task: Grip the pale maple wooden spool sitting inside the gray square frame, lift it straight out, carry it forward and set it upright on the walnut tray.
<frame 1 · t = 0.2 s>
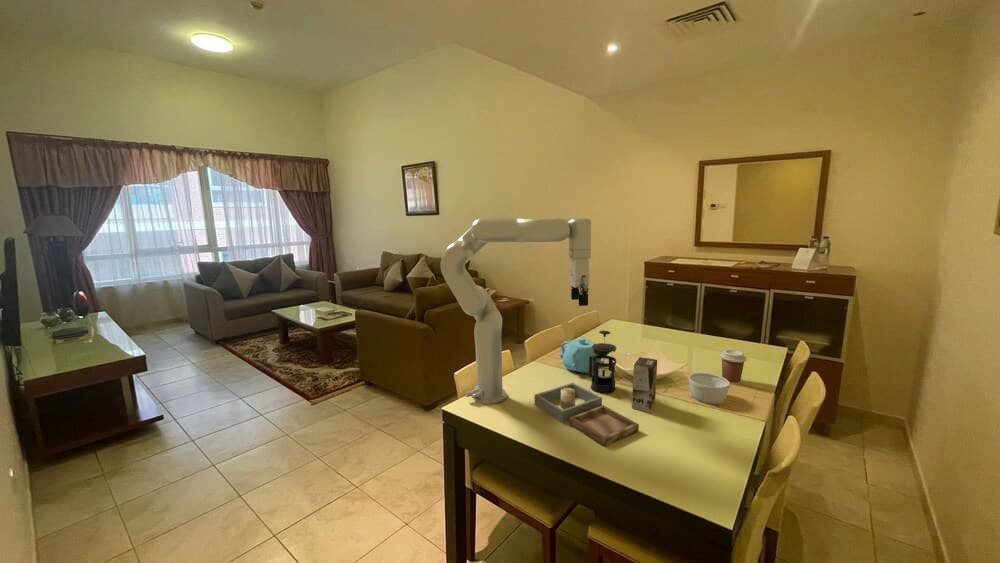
hand: (579, 302, 143), 36 cm above the table, tool pointing down, fingers open, 9 cm apart
gray square frame: (567, 406, 143), on the table
ramekin: (707, 398, 148), on the table
walnut tray: (603, 428, 129), on the table
french press: (602, 388, 157), on the table
maple spool: (567, 398, 142), in the gray square frame
decorative pot: (581, 369, 177), on the table
coffee box: (643, 405, 143), on the table
coffee cup: (731, 381, 161), on the table
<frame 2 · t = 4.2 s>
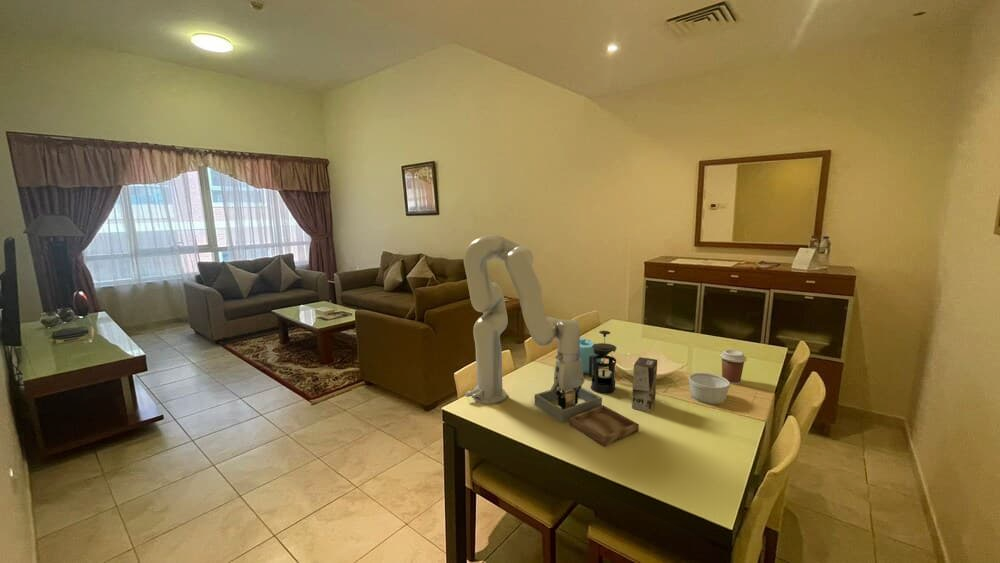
hand: (567, 404, 143), 1 cm above the table, tool pointing down, fingers closed on maple spool, 4 cm apart
maple spool: (567, 398, 142), in the gray square frame, touching gripper
everything else where it was.
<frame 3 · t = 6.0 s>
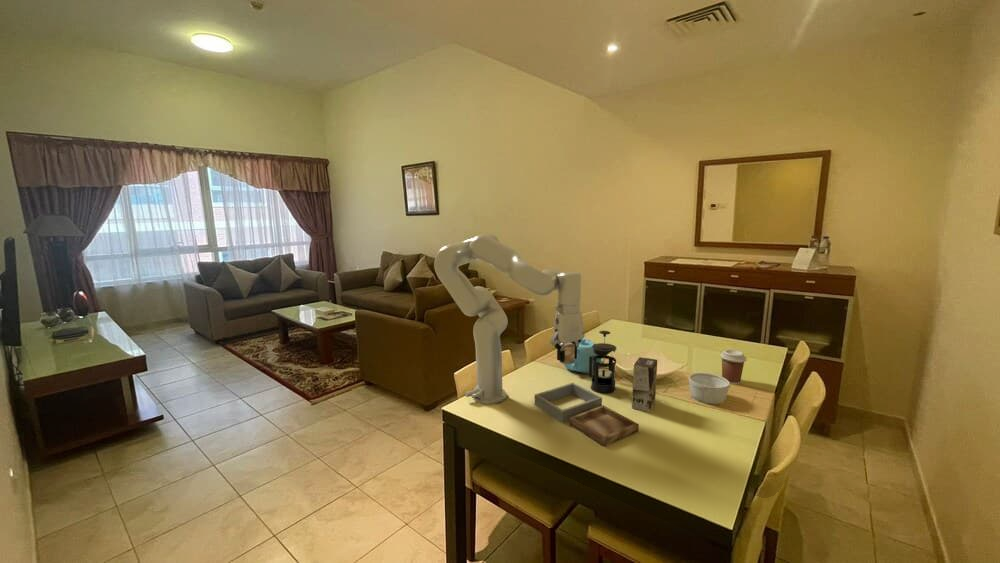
hand: (566, 358, 140), 18 cm above the table, tool pointing down, fingers closed on maple spool, 4 cm apart
maple spool: (567, 353, 140), point 20 cm above the table, touching gripper
everything else where it was.
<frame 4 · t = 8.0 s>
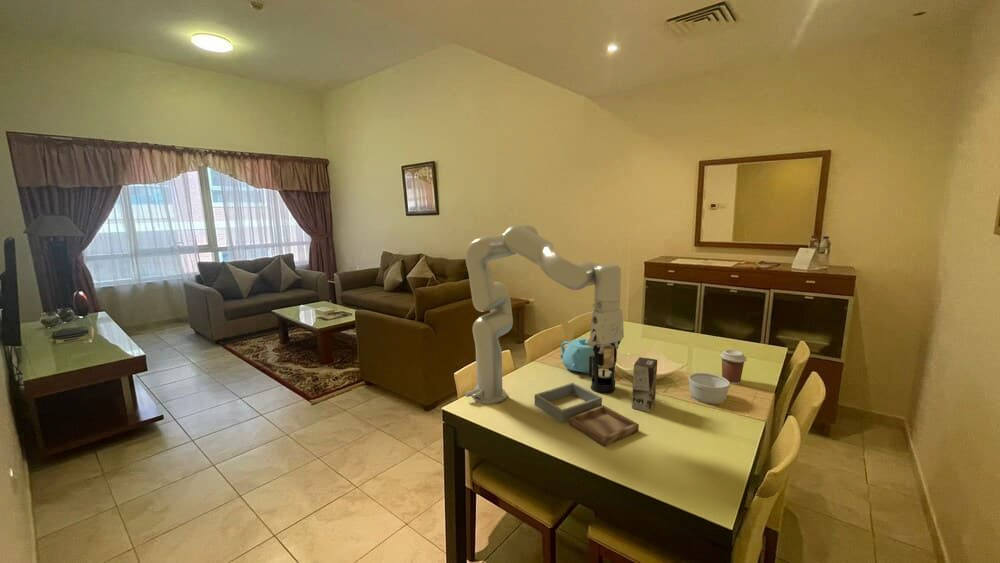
hand: (605, 362, 125), 22 cm above the table, tool pointing down, fingers closed on maple spool, 4 cm apart
maple spool: (605, 355, 124), point 24 cm above the table, touching gripper
everything else where it was.
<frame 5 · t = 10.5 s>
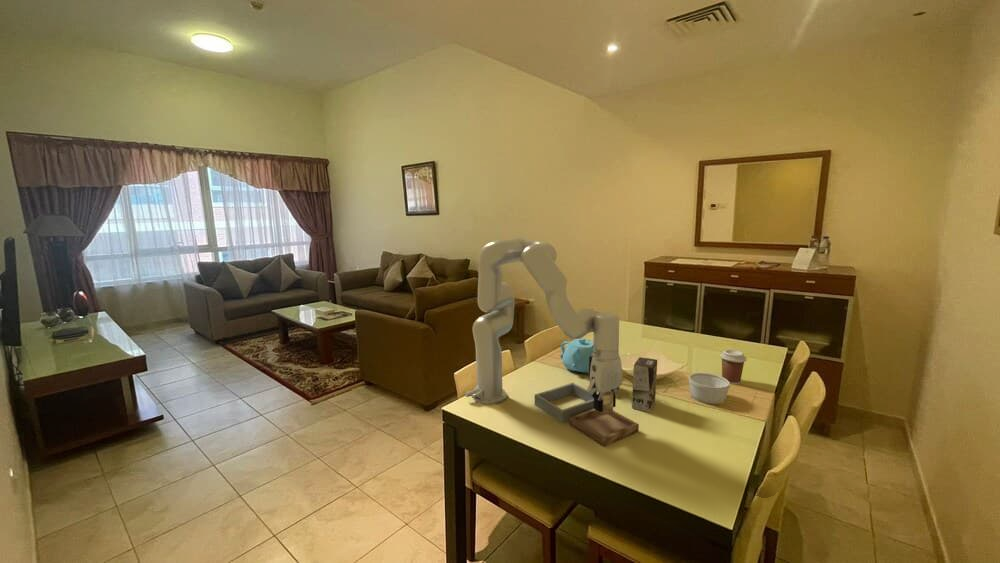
hand: (604, 407, 127), 7 cm above the table, tool pointing down, fingers closed on maple spool, 4 cm apart
maple spool: (604, 401, 127), point 9 cm above the table, touching gripper
everything else where it was.
when the fingers open (3 cm above the table, at t = 12.3 s): maple spool drops 1 cm, resting on walnut tray.
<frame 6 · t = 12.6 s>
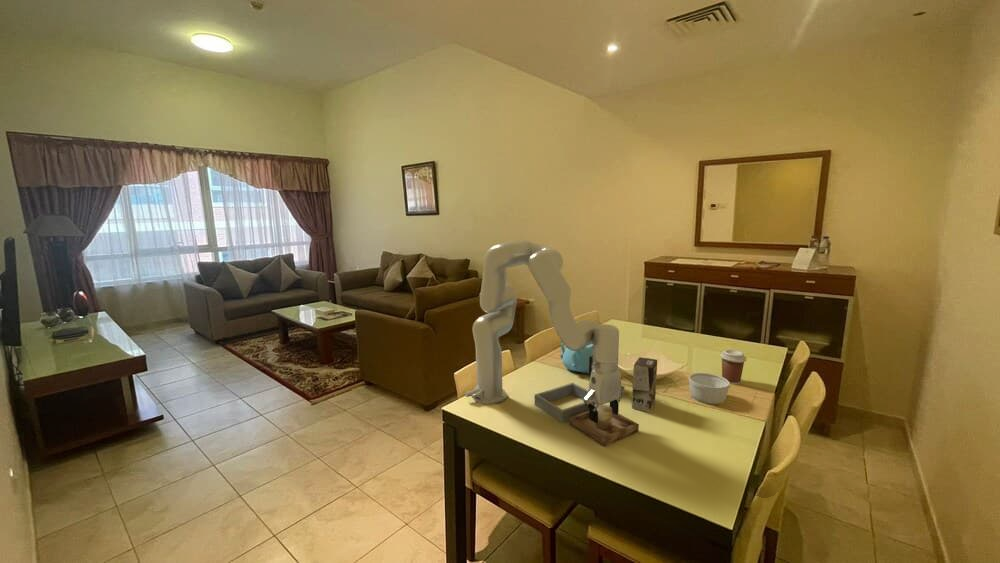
hand: (603, 416, 128), 4 cm above the table, tool pointing down, fingers open, 8 cm apart
maple spool: (603, 417, 128), in the walnut tray, point 4 cm above the table
everything else where it was.
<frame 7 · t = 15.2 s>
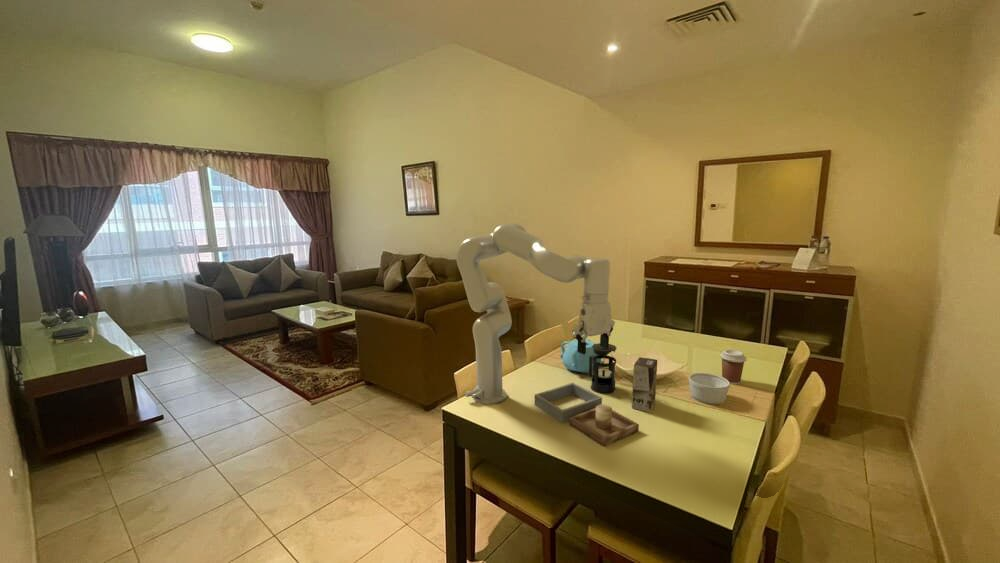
hand: (593, 350, 129), 24 cm above the table, tool pointing down, fingers open, 9 cm apart
nothing on the table moved.
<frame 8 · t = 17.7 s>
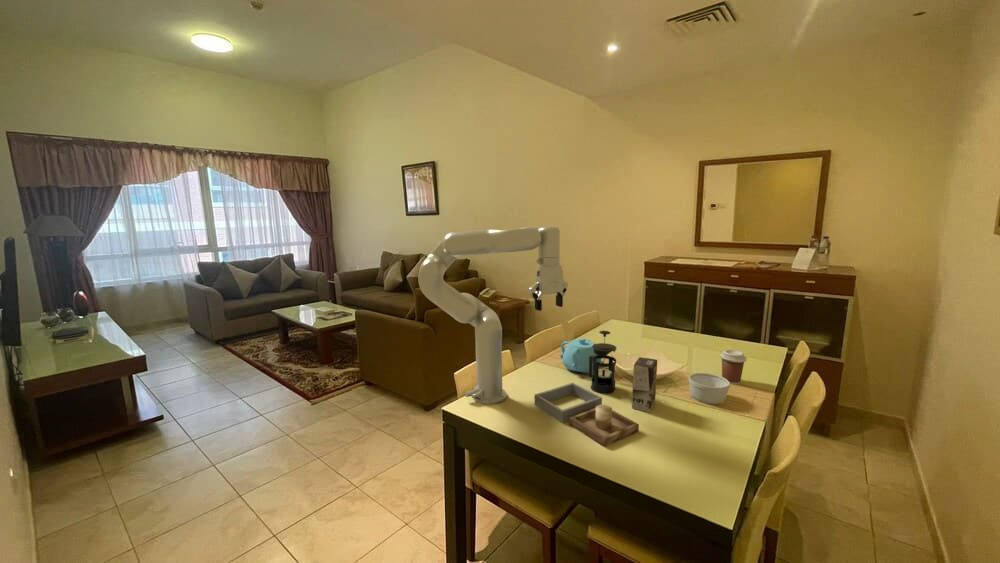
hand: (548, 308, 148), 33 cm above the table, tool pointing down, fingers open, 9 cm apart
nothing on the table moved.
at the end: maple spool inside the target area on the walnut tray (0.0 cm from its centre), point 3.8 cm above the walnut tray's base; maple spool tilted 0°; the gripper is holding nothing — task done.
